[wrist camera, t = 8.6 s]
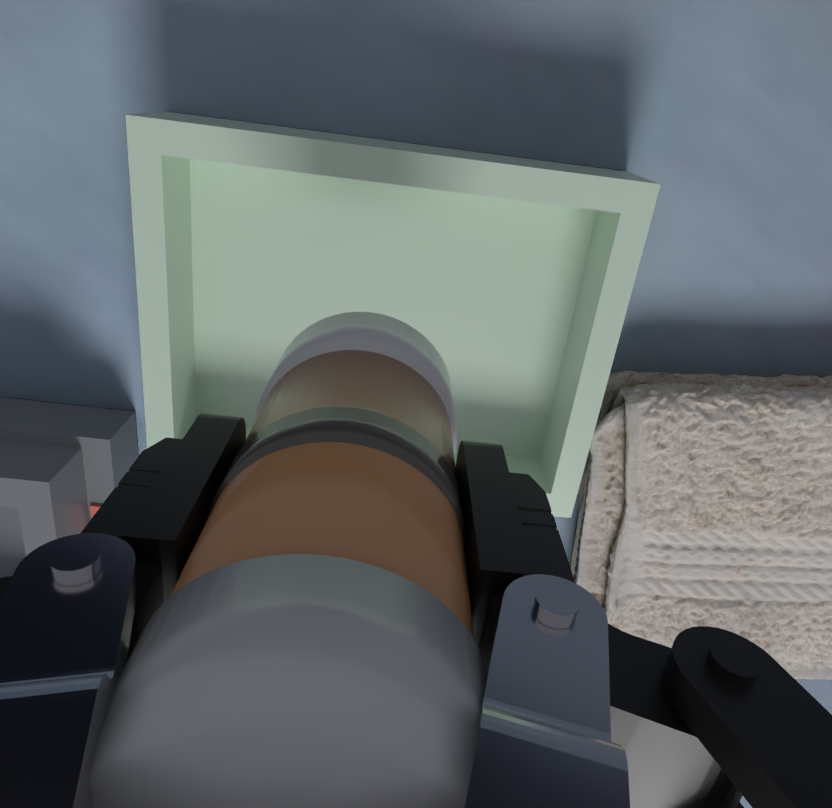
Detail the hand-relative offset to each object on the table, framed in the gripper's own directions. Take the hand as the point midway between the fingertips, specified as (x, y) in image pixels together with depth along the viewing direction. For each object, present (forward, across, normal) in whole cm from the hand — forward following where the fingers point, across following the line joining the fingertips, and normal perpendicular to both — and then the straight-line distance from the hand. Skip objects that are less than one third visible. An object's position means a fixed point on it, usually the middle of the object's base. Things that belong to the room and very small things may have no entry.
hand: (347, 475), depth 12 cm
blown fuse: (+3, 0, 0) cm, 3 cm away
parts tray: (+10, 0, 0) cm, 10 cm away
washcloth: (+10, -16, +6) cm, 20 cm away
